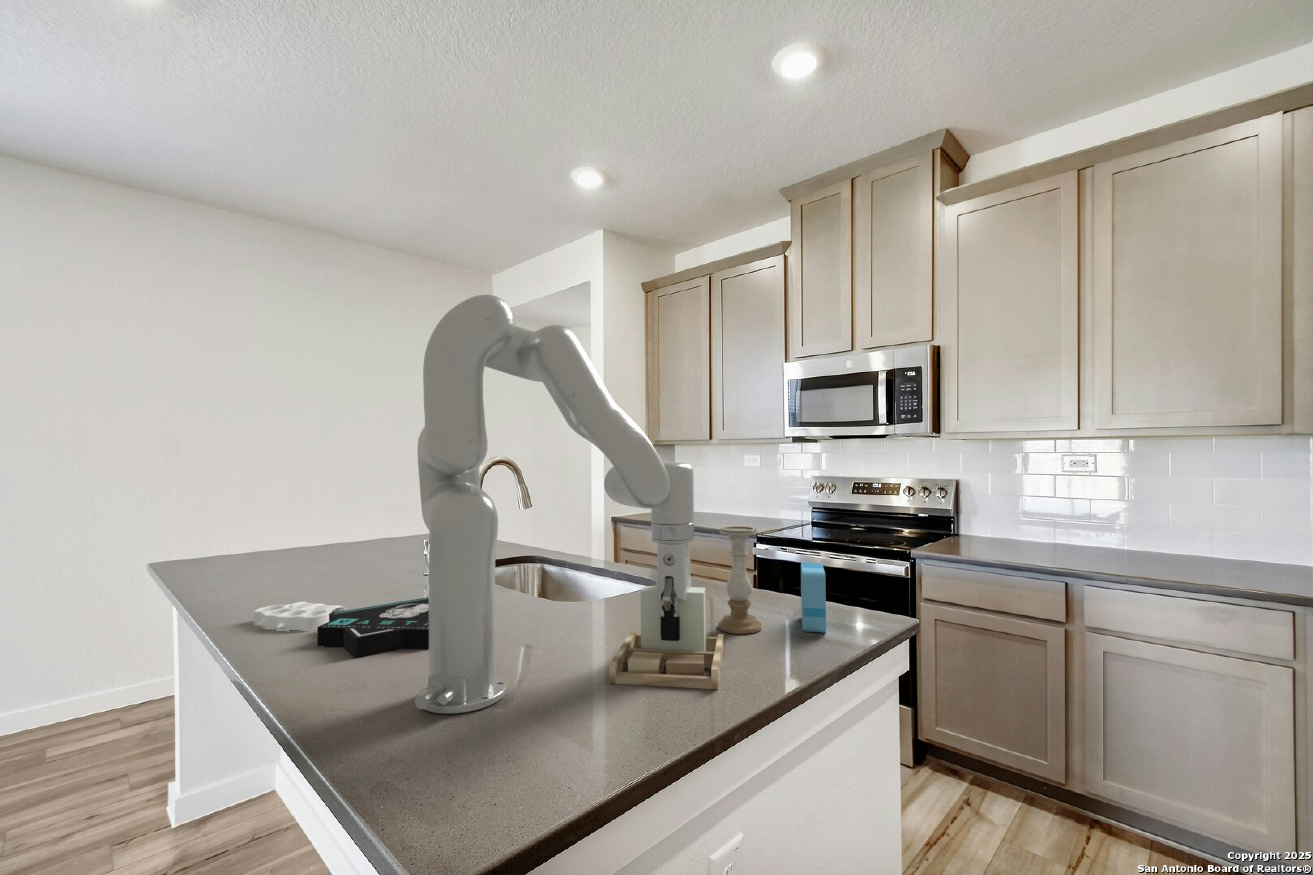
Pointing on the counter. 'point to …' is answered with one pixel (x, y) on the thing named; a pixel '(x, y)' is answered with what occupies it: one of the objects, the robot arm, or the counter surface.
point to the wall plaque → (378, 628)
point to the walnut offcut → (685, 665)
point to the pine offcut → (645, 663)
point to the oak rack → (633, 644)
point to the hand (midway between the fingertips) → (673, 631)
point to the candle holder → (739, 584)
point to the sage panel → (690, 621)
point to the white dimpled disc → (294, 616)
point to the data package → (813, 597)
